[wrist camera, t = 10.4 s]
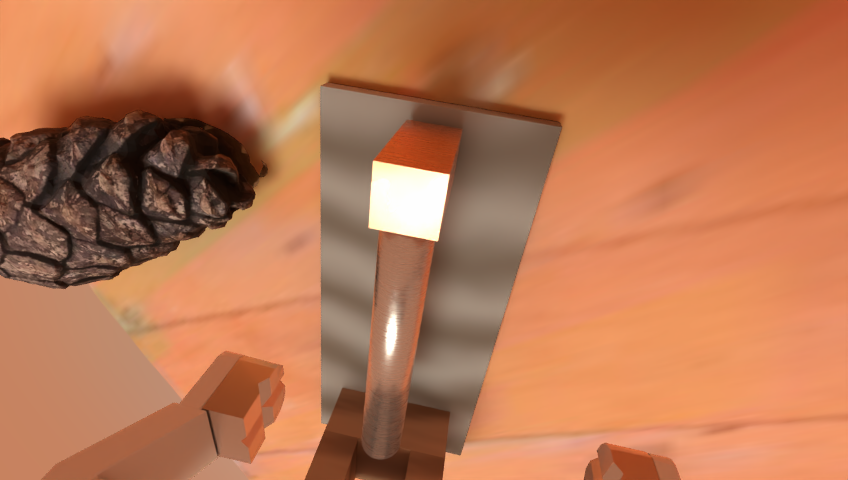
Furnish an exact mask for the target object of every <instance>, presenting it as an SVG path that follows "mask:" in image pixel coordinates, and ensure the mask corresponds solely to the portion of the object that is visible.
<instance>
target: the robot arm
mask: <svg viewBox="0 0 848 480" xmlns="http://www.w3.org/2000/svg"><path fill="white" fill-rule="evenodd" d="M283 375H284V371H283V365H279V364H275V363H271V362H268V361H264V360H260V359H256V358H252V357H248V356H245V355H241V354H237V353H233V352H229V351H225V352H223V353H222V354H220V355H219V356H218V357H217V358H216V360H215V361H214V362H213V363H212V364H211V366H210V367H209V368H208V369H207V371H206V372H205V373H204V374H203V375H202V377H201V378H200V379H199V380H198V382H197V383H196V384H195V385H194V387H193V388H192V389H191V390H190V391H189V393H188V394H187V395H186V396H185V398H184V399H183V400H182V401H181V402H180V404H178V403H172V404H170V405H168V406H166V407H164V408H162V409H161V410H158V411H157V412H155V413H153V414H151V415H149V416H147V417H145V418H143V419H141V420H139V421H137V422H136V423H134V424H132V425H130V426H128V427H126V428H124V429H122V430H120V431H118V432H117V433H114V434H113V435H111V436H109V437H107V438H105V439H103V440H101V441H99V442H97V443H95V444H93V445H92V446H90V447H88V448H86V449H84V450H82V451H80V452H78V453H76V454H74V455H72V456H71V457H69V458H67V459H65V460H63V461H61V462H59V463H57V464H56V465H55V466H54V467H53V468H52V469H51V470H50V471H49V472H48V473H47V474H46V475H45V476H44V477H43V478H42V479H41V480H190V479H191V478H193V477H194V476H195V475H197V474H198V473H199V472H200V471H202V470H203V469H204V468H206V467H207V466H208V465H210V464H211V463H212V462H214V461H215V460H216V459H217V458H218V456H220V457H224V458H229V459H233V460H237V461H242V462H246V463H250V464H251V463H252V461H253V459H254V458H255V456H256V454H257V452H258V450H259V449H260V447H261V445H262V443H263V441H264V440H265V432H264V428H266V427H267V426H269V425H270V424H272V423H273V422H274V421H275V420H276V418H277V416H278V414H279V412H280V409H281V407H282V404H283V401H284V396H285V385H284V384H283V383H282V382H281V378H282V376H283ZM597 453H598V458H596V459H593V460H591V461H590V462H589V464H588V466H587V468H586V471H585V476H584V480H681V479H680V476H679V473H678V471H677V468H676V465H675V464H674V462H673V461H672V460H671V459H670V458H667V457H663V456H658V455H654V454H649V453H646V452H644V451H639V450H635V449H631V448H626V447H622V446H617V445H613V444H608V443H604V444H601V445H600V447H599V448H598V450H597Z"/></svg>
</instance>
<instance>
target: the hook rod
mask: <svg viewBox="0 0 848 480" xmlns="http://www.w3.org/2000/svg"><path fill="white" fill-rule="evenodd" d="M462 130H463V129H459V128H453V127H447V126H442V125H436V124H430V123H425V122H419V121H413V120H406V121H405V122H404V124H403V125H402V126H401V127H400V128H399V130H398V131H397V132H396V133H395V134H394V136H393V137H392V138H391V139H390V141H389V142H388V143H387V144H386V145H385V147H384V148H383V149H382V150H381V152H380V153H379V154H378V155H377V156H376V158H375V159H374V160H373V168H372V183H371V198H370V213H369V227H368V228H372V229H377V230H379V237H378V249H377V261H376V272H375V284H374V296H373V308H372V320H371V332H370V344H369V356H368V368H367V380H366V392H365V404H364V416H363V427H362V439H361V443H362V447H363V449H364V451H365V452H366V454H367V455H369V456H370V457H372V458H374V459H379V460H382V459H387V458H390V457H392V456H393V455H394V454H395V453H396V452H397V451H398V449H399V447H400V444H401V438H402V432H403V426H404V420H405V414H406V409H407V403H408V397H409V391H410V385H411V379H412V373H413V367H414V362H415V356H416V350H417V344H418V338H419V332H420V326H421V321H422V315H423V309H424V303H425V297H426V291H427V285H428V279H429V274H430V268H431V262H432V256H433V250H434V244H435V241H438V239H439V235H440V231H441V227H442V223H443V219H444V215H445V212H446V208H447V204H448V200H449V196H450V192H451V188H452V184H453V180H454V174H455V169H456V163H457V158H458V152H459V147H460V141H461V136H462Z"/></svg>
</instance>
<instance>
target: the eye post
mask: <svg viewBox="0 0 848 480" xmlns="http://www.w3.org/2000/svg"><path fill="white" fill-rule="evenodd" d="M320 116H321V423H324V424H327V427H326V429H325V431H324V434H323V436H322V439H321V441H320V444H319V446H318V449H317V451H316V453H315V456H314V458H313V461H312V463H311V466H310V468H309V471H308V473H307V475H306V478H305V480H354V479H355V478H358V479H362V480H442V478H443V470H444V461H445V452H448V453H453V454H457V455H461V452H462V448H463V445H464V442H465V439H466V436H467V432H468V429H469V426H470V423H471V419H472V416H473V413H474V410H475V406H476V403H477V400H478V397H479V394H480V390H481V387H482V384H483V381H484V377H485V374H486V371H487V368H488V364H489V361H490V358H491V355H492V352H493V348H494V345H495V342H496V339H497V335H498V332H499V329H500V326H501V323H502V319H503V316H504V313H505V310H506V306H507V303H508V300H509V297H510V293H511V290H512V287H513V284H514V281H515V277H516V274H517V271H518V268H519V264H520V261H521V258H522V255H523V251H524V248H525V245H526V242H527V239H528V235H529V232H530V229H531V226H532V222H533V219H534V216H535V213H536V210H537V206H538V203H539V200H540V197H541V193H542V190H543V187H544V184H545V180H546V177H547V174H548V171H549V168H550V164H551V161H552V158H553V155H554V151H555V148H556V145H557V142H558V138H559V135H560V132H561V129H562V126H561V125H560V123H559V122H556V121H550V120H544V119H538V118H532V117H527V116H521V115H515V114H509V113H503V112H497V111H492V110H486V109H480V108H474V107H468V106H462V105H456V104H451V103H445V102H439V101H433V100H427V99H421V98H416V97H410V96H404V95H398V94H392V93H386V92H380V91H375V90H369V89H363V88H357V87H351V86H345V85H339V84H334V83H326V84H323V85H321V86H320ZM406 120H413V121H419V122H425V123H430V124H436V125H442V126H447V127H453V128H459V129H463V130H462V136H461V141H460V147H459V152H458V158H457V163H456V169H455V174H454V180H453V184H452V188H451V192H450V196H449V200H448V204H447V208H446V212H445V215H444V219H443V223H442V227H441V231H440V235H439V239H438V241H435V244H434V250H433V256H432V262H431V268H430V274H429V279H428V285H427V291H426V297H425V303H424V309H423V315H422V321H421V326H420V332H419V338H418V344H417V350H416V356H415V362H414V367H413V373H412V379H411V385H410V391H409V397H408V403H407V409H406V414H405V420H404V426H403V432H402V438H401V444H400V447H399V449H398V451H397V452H396V453H395V454H394V455H393V456H392V457H390V458H387V459H382V460H379V459H374V458H372V457H370V456H369V455H367V454H366V452H365V451H364V449H363V447H362V443H361V439H362V427H363V416H364V404H365V392H366V380H367V368H368V356H369V344H370V332H371V320H372V308H373V296H374V284H375V272H376V261H377V249H378V237H379V230H377V229H372V228H368V227H369V213H370V198H371V183H372V168H373V160H374V159H375V158H376V156H377V155H378V154H379V153H380V152H381V150H382V149H383V148H384V147H385V145H386V144H387V143H388V142H389V141H390V139H391V138H392V137H393V136H394V134H395V133H396V132H397V131H398V130H399V128H400V127H401V126H402V125H403V124H404V122H405V121H406Z"/></svg>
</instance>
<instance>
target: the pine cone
mask: <svg viewBox="0 0 848 480" xmlns="http://www.w3.org/2000/svg"><path fill="white" fill-rule="evenodd" d="M200 127H201V128H203V129H201V128H200ZM10 139H11V140H8V139H5V138H0V275H1V276H3V277H5V278H9V279H13V280H19V281H24V282H27V283H30V284H37V285H41V286H46V287H50V288H61V289H66V288H67V287H68V286H70V285H72V286H78V285H82V284H87V283H91V282H96V281H100V280H110V279H113V278H114V277H116V276H118V275H119V273H120V272H121V271H122V270H124V269H128V268H129V267H130V266H137V265H141V264H142V263H144V262H146V261H148V260H152V259H155V258H157V257H160V256H167V255H168V254H169V253H170V252H171V251H174V250H176V249H177V247H178V245H179V243H180V241H181V240H189V239H192V238H196V237H199V236H200V235H201V234H202V233H203V232H204V231H205V228H207V227H209V228H210V229H217V228H222V227H225V225H226V223H227V221H228V220H230V219H232V214H233V212H235V211H236V210H238V209H242V210H245V209H247V208H249V207H251V206H252V204H253V200H254V199H255V192H254V190H253V188H254V187H256V186H257V184H258V182H259V177H264V176H265V175H266V174H267V170H268V169H267V167H266V164H265V163H264V162H263V161H262V163H263V168H262V170H261V173H260V176H259V175H258V174H257V172H256V170H255V169H254V167H253V166H252V165H251V163H250V159H249V155H248V154H247V152H246V150H245V148H244V147H243V145H242V144H241V143H240V142H238V141H237V140H236V139H234V138H233V137H232V136H230V135H229V134H228V133H226V132H224V131H222V130H220V129H218V128H215V127H213V126H211V125H208V124H206V123H204V122H201V121H199V120H195V119H186V118H171V119H164V120H162V119H160V118H159V117H157V116H155V115H152V114H150V113H147V112H143V111H140V110H137V111H134V112H131V113H129V114H126V116H125V118H124V119H122V120H121V121H119V122H117V123H116V122H114V121H111V120H109V119H104V118H94V117H89V116H85V117H81V118H77V119H76V120H75V122H74V123H73V124H72V125H71V126H70V127H69V128H67V127H64V128H39V129H36V130H33V131H30V132H24V133H17V134H15V135H13V136H12V137H10Z"/></svg>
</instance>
